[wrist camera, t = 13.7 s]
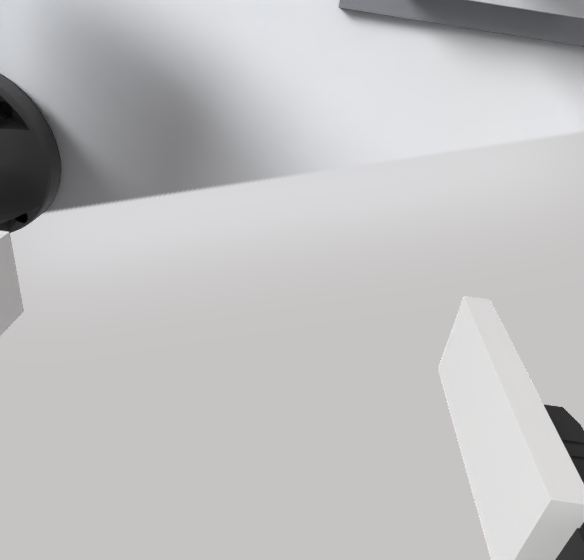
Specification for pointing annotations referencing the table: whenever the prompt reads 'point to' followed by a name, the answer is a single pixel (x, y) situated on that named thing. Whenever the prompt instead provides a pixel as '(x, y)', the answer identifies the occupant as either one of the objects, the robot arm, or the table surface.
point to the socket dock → (491, 15)
